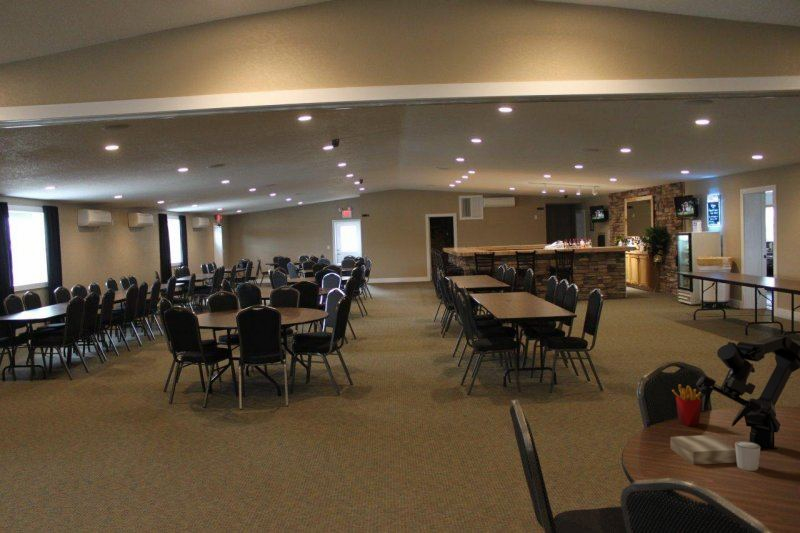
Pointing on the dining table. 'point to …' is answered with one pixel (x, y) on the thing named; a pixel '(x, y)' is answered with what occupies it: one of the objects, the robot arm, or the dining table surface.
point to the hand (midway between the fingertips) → (717, 418)
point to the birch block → (703, 449)
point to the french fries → (688, 406)
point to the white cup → (747, 455)
